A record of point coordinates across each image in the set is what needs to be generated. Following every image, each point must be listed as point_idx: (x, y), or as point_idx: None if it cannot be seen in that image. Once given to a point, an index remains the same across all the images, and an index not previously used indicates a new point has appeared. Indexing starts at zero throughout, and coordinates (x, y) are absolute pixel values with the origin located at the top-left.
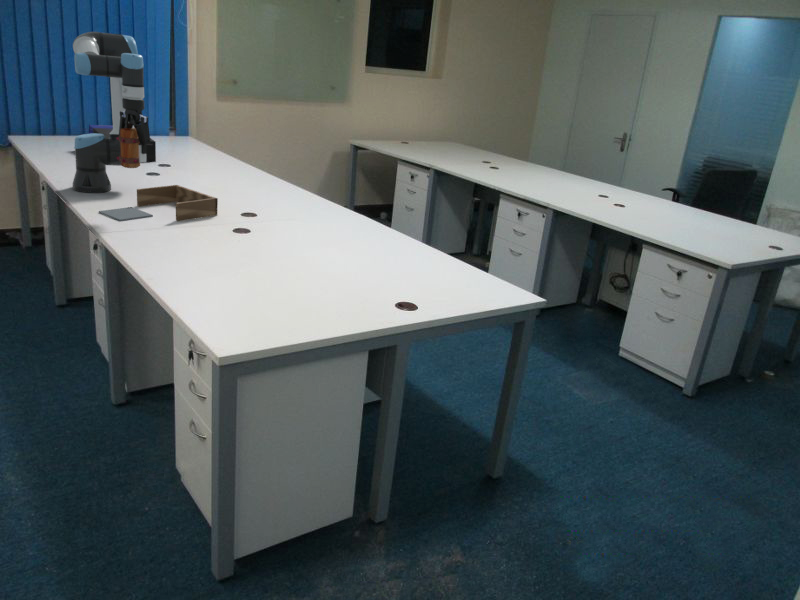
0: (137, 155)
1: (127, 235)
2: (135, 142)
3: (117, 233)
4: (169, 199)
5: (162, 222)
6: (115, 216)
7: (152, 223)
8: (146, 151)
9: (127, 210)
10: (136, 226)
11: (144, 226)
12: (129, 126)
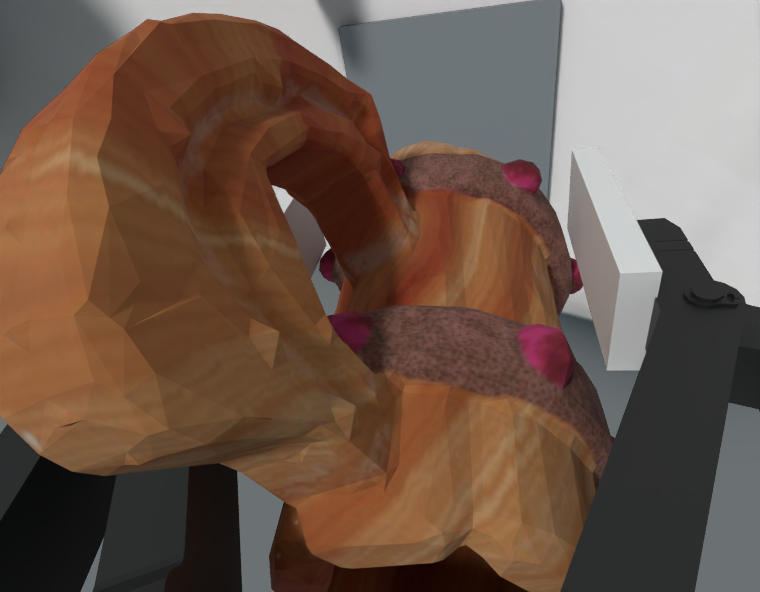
0: (545, 267)
1: (756, 279)
2: None
3: None
4: None
5: (710, 10)
6: None
7: (683, 80)
8: (682, 238)
9: (404, 90)
10: (669, 182)
11: (699, 149)
12: (220, 573)
